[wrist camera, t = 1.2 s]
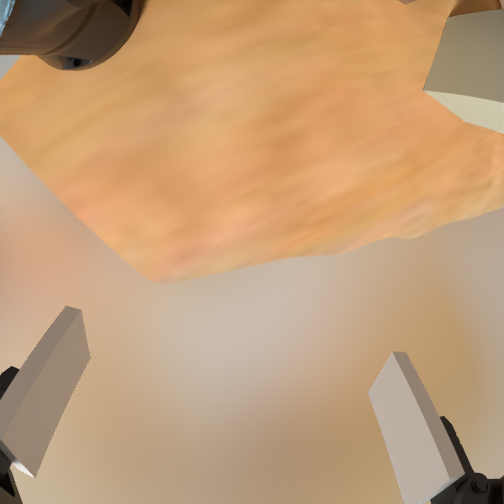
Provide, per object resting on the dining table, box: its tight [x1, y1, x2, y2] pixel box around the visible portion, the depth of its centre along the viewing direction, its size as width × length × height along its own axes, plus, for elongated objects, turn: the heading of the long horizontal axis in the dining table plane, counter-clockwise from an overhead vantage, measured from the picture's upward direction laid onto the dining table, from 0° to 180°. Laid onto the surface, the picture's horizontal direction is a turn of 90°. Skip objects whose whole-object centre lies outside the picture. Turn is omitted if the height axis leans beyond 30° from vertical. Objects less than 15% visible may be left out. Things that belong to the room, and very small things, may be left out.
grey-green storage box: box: [423, 9, 504, 134], centre depth 22 cm, size 14×9×20 cm, turn 160°
